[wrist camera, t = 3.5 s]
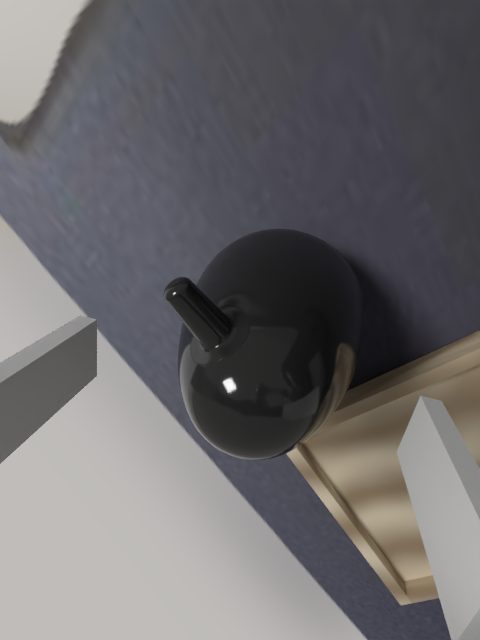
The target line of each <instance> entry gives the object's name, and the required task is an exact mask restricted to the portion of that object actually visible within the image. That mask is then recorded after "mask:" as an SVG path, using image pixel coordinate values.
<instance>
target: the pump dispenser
mask: <svg viewBox="0 0 480 640" xmlns="http://www.w3.org/2000/svg"><path fill="white" fill-rule="evenodd" d="M164 299H165V300H166V301H167V303H168V304H169V305H170V306H171V308H172V309H173V310H174V312H175V313H176V314H177V315H178V317H179V318H180V319H181V320H182V322H183V323H182V328H181V334H180V341H179V351H178V376H179V385H180V390H181V395H182V398H183V402H184V405H185V407H186V410H187V412H188V415H189V417H190V419H191V421H192V423H193V424H194V426H195V427H196V429H197V430H198V432H199V433H200V434H201V435H202V436H203V438H204V439H205V440H206V441H207V442H209V443H210V444H211V445H212V446H214V447H215V448H217V449H218V450H220V451H222V452H223V453H225V454H228V455H230V456H233V457H236V458H240V459H246V460H266V459H271V458H275V457H278V456H281V455H284V454H286V453H288V452H290V451H292V450H294V449H295V448H297V447H299V446H300V445H302V444H303V443H305V442H306V441H307V440H308V439H310V438H311V437H312V436H313V435H314V434H315V433H317V432H318V431H319V430H320V429H321V428H322V426H323V425H324V424H325V423H326V422H327V421H328V419H329V418H330V417H331V416H332V414H333V413H334V412H335V410H336V409H337V407H338V406H339V404H340V402H341V401H342V399H343V397H344V395H345V393H346V392H347V390H348V388H349V385H350V383H351V381H352V379H353V376H354V374H355V371H356V368H357V365H358V362H359V359H360V355H361V351H362V346H363V339H364V331H365V304H364V298H363V294H362V290H361V287H360V284H359V281H358V279H357V277H356V275H355V273H354V271H353V269H352V268H351V266H350V265H349V264H348V262H347V261H346V260H345V259H344V257H343V256H342V255H341V254H340V253H339V252H338V251H337V250H335V249H334V248H333V247H332V246H330V245H329V244H327V243H326V242H324V241H323V240H321V239H319V238H317V237H315V236H312V235H310V234H307V233H304V232H300V231H295V230H289V229H269V230H262V231H258V232H254V233H251V234H248V235H246V236H244V237H242V238H240V239H238V240H236V241H234V242H233V243H231V244H230V245H228V246H227V247H226V248H224V249H223V250H222V251H221V252H220V253H219V254H218V255H217V256H216V257H215V258H214V259H213V260H212V261H211V262H210V264H209V265H208V266H207V268H206V269H205V271H204V272H203V274H202V275H201V277H200V279H199V281H198V282H197V284H196V285H195V284H194V283H193V282H192V281H191V280H190V279H188V278H186V277H179V278H176V279H174V280H173V281H171V282H170V283H169V284H168V285H167V286H166V288H165V290H164Z"/></svg>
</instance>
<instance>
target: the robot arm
mask: <svg viewBox="0 0 480 640" xmlns="http://www.w3.org/2000/svg"><path fill="white" fill-rule="evenodd" d="M96 375H97V320H96V319H92V318H87V317H83V316H79V317H77V318H75V319H73V320H72V321H70V322H68V323H67V324H65V325H63V326H62V327H60V328H58V329H57V330H55V331H53V332H52V333H50V334H48V335H46V336H45V337H43V338H41V339H40V340H38V341H36V342H35V343H33V344H32V345H30V346H28V347H26V348H24V349H23V350H21V351H20V352H18V353H16V354H14V355H13V356H11V357H9V358H8V359H6V360H4V361H3V362H1V363H0V463H1V462H2V461H4V460H5V459H6V458H7V457H8V456H9V455H10V454H11V453H12V452H14V451H15V450H16V449H17V448H18V447H19V446H20V445H21V444H22V443H23V442H25V441H26V440H27V439H28V438H29V437H30V436H31V435H32V434H33V433H34V432H35V431H37V430H38V429H39V428H40V427H41V426H42V425H43V424H44V423H45V422H46V421H48V420H49V419H50V418H51V417H52V416H53V415H54V414H55V413H56V412H57V411H58V410H60V409H61V408H62V407H63V406H64V405H65V404H66V403H67V402H68V401H69V400H70V399H72V398H73V397H74V396H75V395H76V394H77V393H78V392H79V391H80V390H82V389H83V388H84V387H85V386H86V385H87V384H88V383H89V382H90V381H91V380H93V379H94V378H95V377H96ZM397 455H398V459H399V462H400V466H401V469H402V472H403V476H404V479H405V483H406V486H407V489H408V493H409V496H410V500H411V503H412V507H413V510H414V513H415V517H416V520H417V524H418V527H419V530H420V534H421V537H422V541H423V544H424V547H425V551H426V554H427V558H428V561H429V564H430V568H431V571H432V575H433V578H434V582H435V585H436V588H437V592H438V595H439V599H440V602H441V605H442V609H443V612H444V616H445V619H446V622H447V626H448V629H449V633H450V636H451V640H480V468H479V467H478V465H477V463H476V461H475V459H474V458H473V456H472V454H471V452H470V450H469V449H468V447H467V445H466V443H465V442H464V440H463V438H462V436H461V434H460V433H459V431H458V429H457V427H456V426H455V424H454V422H453V420H452V418H451V417H450V415H449V413H448V411H447V409H446V408H445V406H444V404H443V402H442V401H440V400H436V399H432V398H428V397H423V396H420V398H419V400H418V403H417V405H416V408H415V410H414V412H413V415H412V417H411V419H410V422H409V424H408V426H407V429H406V431H405V433H404V436H403V438H402V440H401V443H400V445H399V447H398V450H397Z"/></svg>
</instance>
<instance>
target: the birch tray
mask: <svg viewBox="0 0 480 640" xmlns="http://www.w3.org/2000/svg"><path fill="white" fill-rule="evenodd" d="M420 396H423V397H428V398H432V399H436V400H440V401H442V402H443V404H444V406H445V408H446V409H447V411H448V413H449V415H450V417H451V418H452V420H453V422H454V424H455V426H456V427H457V429H458V431H459V433H460V434H461V436H462V438H463V440H464V442H465V443H466V445H467V447H468V449H469V450H470V452H471V454H472V456H473V458H474V459H475V461H476V463H477V465H478V467H479V468H480V330H479V331H477V332H475V333H473V334H470V335H468V336H466V337H464V338H462V339H460V340H457V341H455V342H453V343H451V344H449V345H446V346H444V347H442V348H440V349H438V350H435V351H433V352H431V353H429V354H427V355H424V356H422V357H420V358H418V359H416V360H414V361H411V362H409V363H407V364H405V365H403V366H400V367H398V368H396V369H394V370H392V371H389V372H387V373H385V374H383V375H381V376H378V377H376V378H374V379H372V380H370V381H368V382H365V383H363V384H361V385H359V386H357V387H354V388H352V389H350V390H348V391H347V392H346V393H345V395H344V397H343V399H342V401H341V402H340V404H339V406H338V407H337V409H336V410H335V412H334V413H333V414H332V416H331V417H330V418H329V419H328V421H327V422H326V423H325V424H324V425H323V426H322V428H321V429H320V430H319V431H318V432H317V433H315V434H314V435H313V436H312V437H311V438H310V439H308V440H307V441H306V442H305V443H303V444H302V445H300V446H299V447H297V448H295V449H294V450H292V451H290V452H288V453H286V454H287V455H288V456H289V458H290V459H291V460H292V462H293V463H294V464H295V466H296V467H297V468H298V470H299V471H300V472H301V474H302V475H303V476H304V478H305V479H306V480H307V482H308V483H309V484H310V486H311V487H312V488H313V490H314V491H315V492H316V493H317V495H318V496H319V497H320V499H321V500H322V501H323V503H324V504H325V505H326V507H327V508H328V509H329V511H330V512H331V513H332V515H333V516H334V517H335V519H336V520H337V521H338V523H339V524H340V525H341V527H342V528H343V529H344V531H345V532H346V533H347V535H348V536H349V537H350V539H351V540H352V541H353V543H354V544H355V545H356V546H357V548H358V549H359V550H360V552H361V553H362V554H363V556H364V557H365V558H366V560H367V561H368V562H369V564H370V565H371V566H372V568H373V569H374V570H375V572H376V573H377V574H378V576H379V577H380V578H381V580H382V581H383V582H384V584H385V585H386V586H387V588H388V589H389V590H390V592H391V593H392V594H393V596H394V597H395V598H396V599H397V601H398V602H399V603H400V605H406V604H411V603H416V602H420V601H425V600H430V599H435V598H439V595H438V592H437V588H436V585H435V582H434V578H433V575H432V571H431V568H430V564H429V561H428V558H427V554H426V551H425V547H424V544H423V541H422V537H421V534H420V530H419V527H418V524H417V520H416V517H415V513H414V510H413V507H412V503H411V500H410V496H409V493H408V489H407V486H406V483H405V479H404V476H403V472H402V469H401V466H400V462H399V459H398V455H397V450H398V447H399V445H400V443H401V440H402V438H403V436H404V433H405V431H406V429H407V426H408V424H409V422H410V419H411V417H412V415H413V412H414V410H415V408H416V405H417V403H418V400H419V398H420Z"/></svg>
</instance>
